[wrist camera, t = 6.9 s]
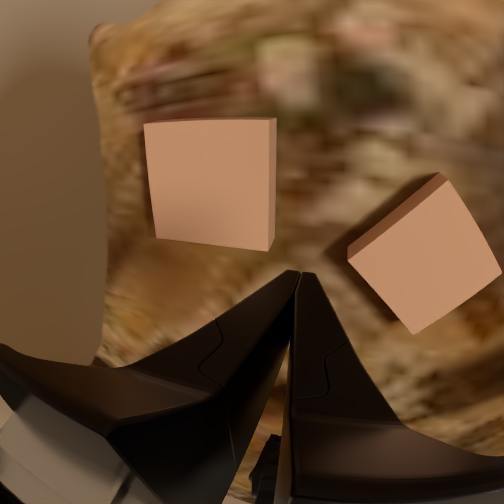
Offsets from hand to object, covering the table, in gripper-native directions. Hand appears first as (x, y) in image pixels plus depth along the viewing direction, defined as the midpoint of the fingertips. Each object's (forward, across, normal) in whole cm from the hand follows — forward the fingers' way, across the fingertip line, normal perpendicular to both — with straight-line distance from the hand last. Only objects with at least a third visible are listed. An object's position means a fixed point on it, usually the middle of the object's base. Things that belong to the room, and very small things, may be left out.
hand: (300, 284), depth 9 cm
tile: (+10, +3, 0) cm, 11 cm away
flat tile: (+12, -8, +4) cm, 15 cm away
